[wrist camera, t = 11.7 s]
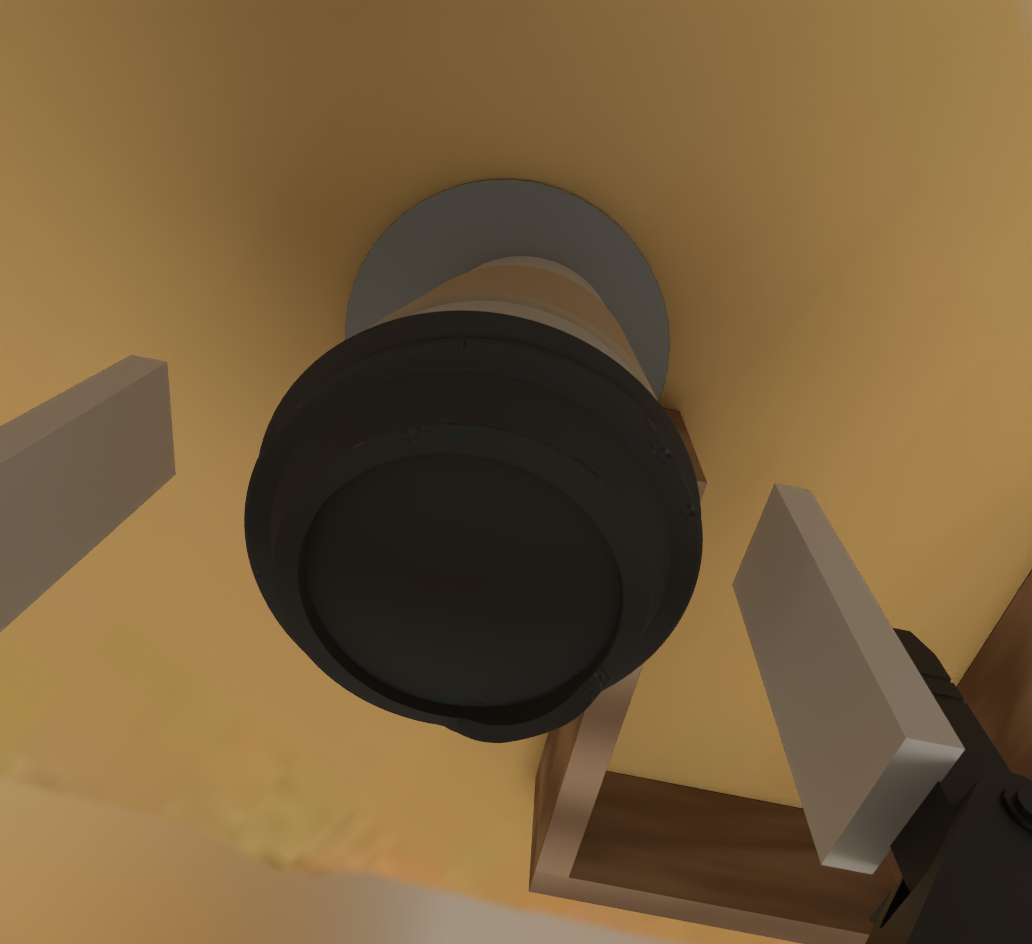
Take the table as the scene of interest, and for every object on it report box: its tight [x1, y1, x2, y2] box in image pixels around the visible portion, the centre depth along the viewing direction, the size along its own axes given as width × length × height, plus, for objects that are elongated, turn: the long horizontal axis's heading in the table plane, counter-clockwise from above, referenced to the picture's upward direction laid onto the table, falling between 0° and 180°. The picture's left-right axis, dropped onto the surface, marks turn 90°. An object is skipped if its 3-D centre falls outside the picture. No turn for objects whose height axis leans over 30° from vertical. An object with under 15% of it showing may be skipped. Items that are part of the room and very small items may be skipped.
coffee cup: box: [244, 256, 703, 743], centre depth 18 cm, size 9×9×15 cm
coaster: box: [345, 179, 670, 401], centre depth 25 cm, size 12×12×1 cm
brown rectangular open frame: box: [529, 408, 1032, 944], centre depth 28 cm, size 22×19×6 cm
